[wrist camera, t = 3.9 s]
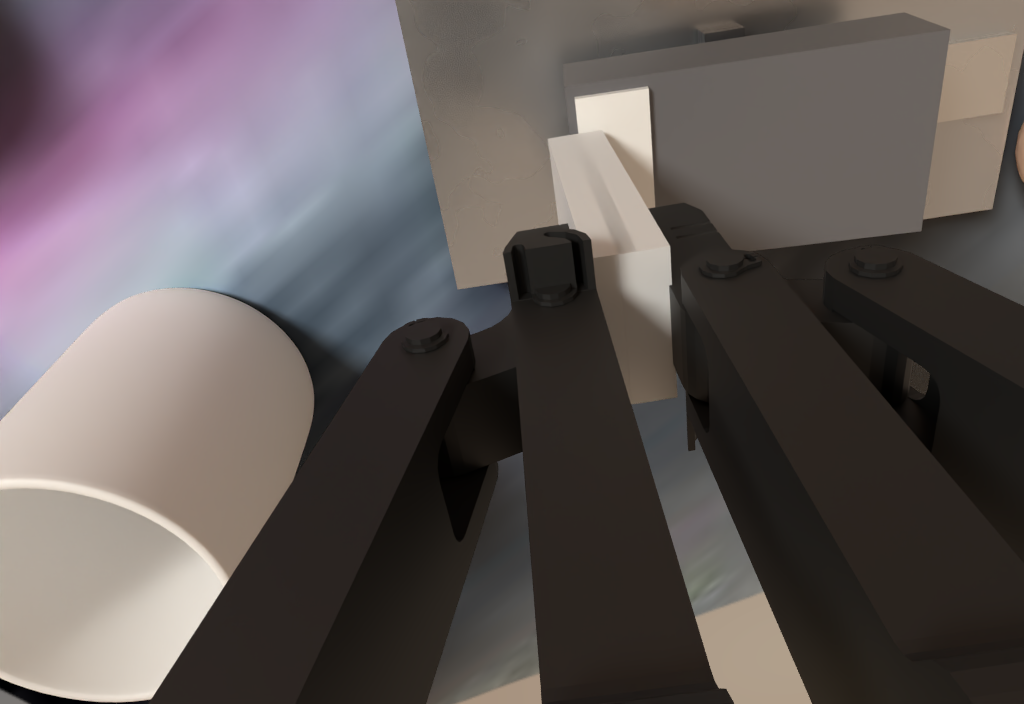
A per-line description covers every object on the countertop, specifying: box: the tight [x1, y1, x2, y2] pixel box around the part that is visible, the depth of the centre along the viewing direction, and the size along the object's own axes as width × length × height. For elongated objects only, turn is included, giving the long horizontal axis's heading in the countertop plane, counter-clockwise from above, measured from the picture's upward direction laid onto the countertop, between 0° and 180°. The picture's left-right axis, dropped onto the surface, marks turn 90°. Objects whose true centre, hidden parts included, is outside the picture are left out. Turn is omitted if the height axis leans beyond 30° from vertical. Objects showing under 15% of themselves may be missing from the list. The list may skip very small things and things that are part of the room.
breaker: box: [563, 12, 951, 251], centre depth 18 cm, size 8×4×3 cm, turn 99°
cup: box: [0, 288, 314, 702], centre depth 23 cm, size 8×12×10 cm
